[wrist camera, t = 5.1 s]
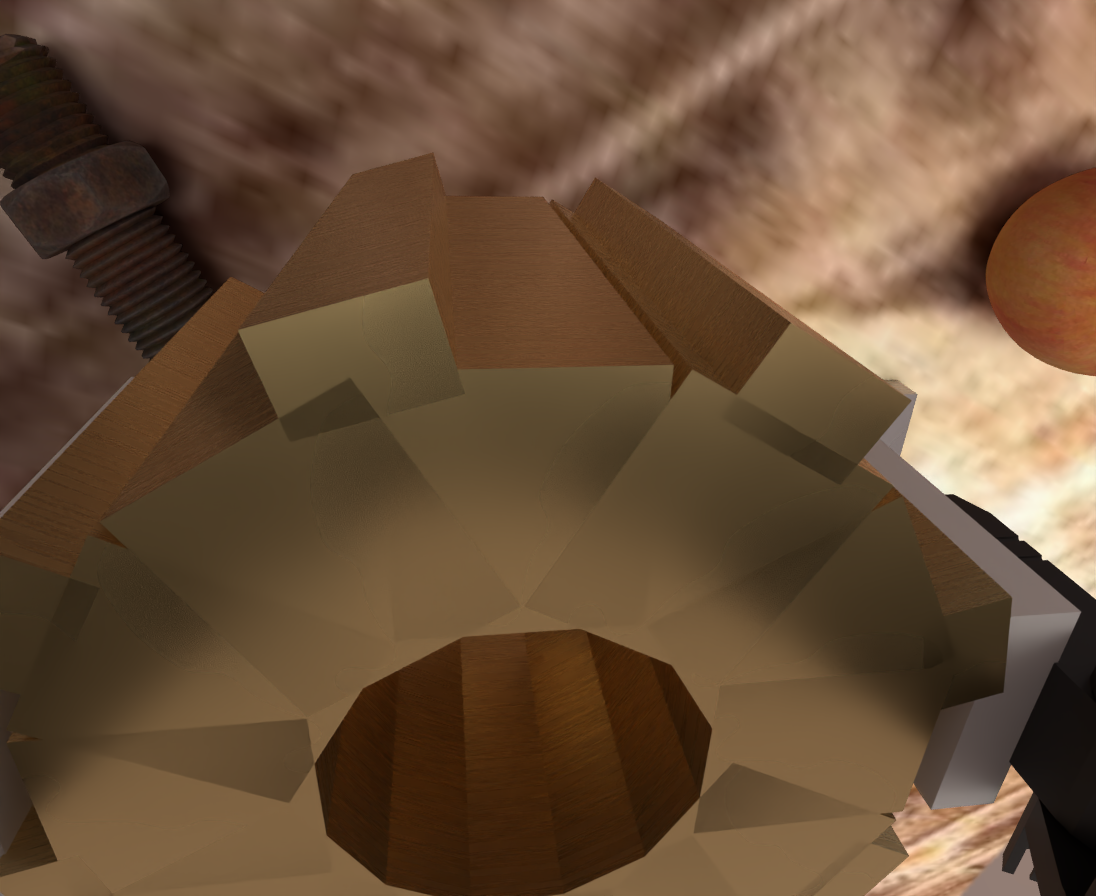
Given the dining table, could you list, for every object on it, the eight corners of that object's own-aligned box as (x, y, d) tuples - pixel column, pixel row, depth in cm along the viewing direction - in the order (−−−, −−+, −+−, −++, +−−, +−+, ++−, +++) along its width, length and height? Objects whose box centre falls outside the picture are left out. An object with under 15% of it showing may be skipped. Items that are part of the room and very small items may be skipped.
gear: (246, 656, 14) (103, 1102, 8) (139, 147, 10) (-319, 283, 4) (702, 625, 16) (876, 993, 9) (777, 157, 11) (1180, 272, 5)
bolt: (66, 48, 25) (312, 415, 31) (-92, 110, 23) (205, 486, 30) (68, -11, 20) (358, 436, 27) (-132, 60, 18) (233, 523, 25)
